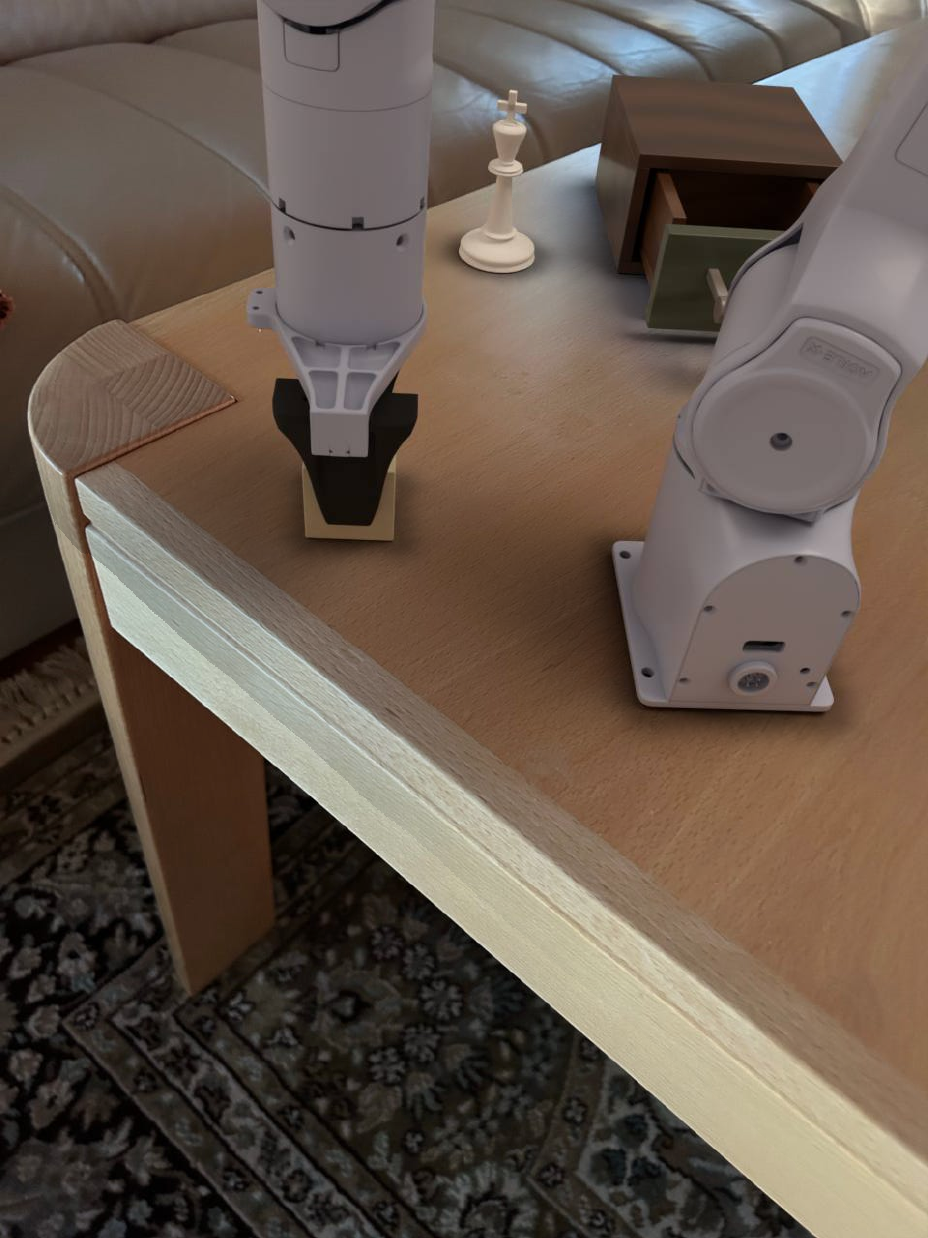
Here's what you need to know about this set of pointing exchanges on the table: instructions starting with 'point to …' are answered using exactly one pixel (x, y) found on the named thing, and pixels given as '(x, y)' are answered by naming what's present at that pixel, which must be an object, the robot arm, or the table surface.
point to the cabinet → (697, 143)
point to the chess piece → (501, 203)
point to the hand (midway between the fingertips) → (351, 487)
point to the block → (320, 529)
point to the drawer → (708, 237)
